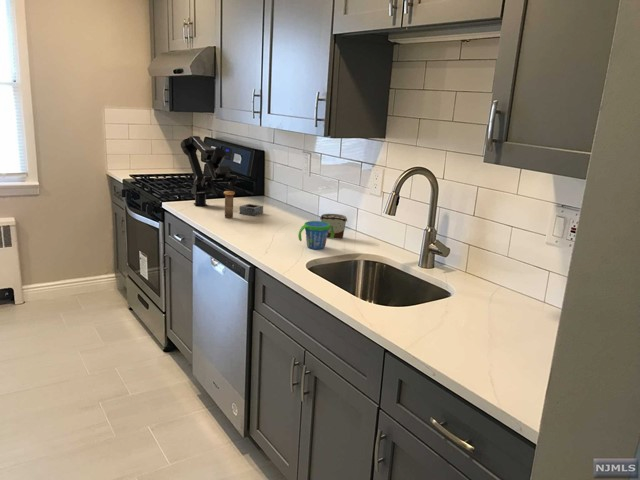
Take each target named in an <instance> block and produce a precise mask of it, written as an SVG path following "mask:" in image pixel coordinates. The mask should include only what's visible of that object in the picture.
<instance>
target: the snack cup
mask: <svg viewBox="0 0 640 480" xmlns="http://www.w3.org/2000/svg"><path fill="white" fill-rule="evenodd" d="M330 227H331V238H330V239H335V238H334V228H333V227H332V226H331V225H330V224H329V223H326V222H322V221H321V220H310V221H306V222H304V225H302V226H301V227H300V228H299V232H298V240H299V241H300V242H302V233H303V231H304V230H305V241H306V246H307V248H309V249H312V250H323V249H324V248H326V243H327V239H328V238H327V235H328V230H329V228H330Z"/></svg>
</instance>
